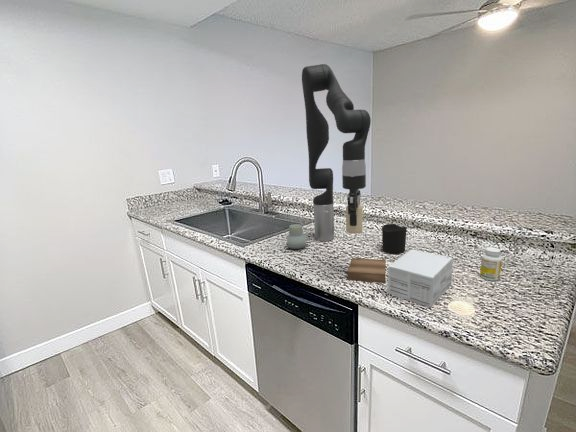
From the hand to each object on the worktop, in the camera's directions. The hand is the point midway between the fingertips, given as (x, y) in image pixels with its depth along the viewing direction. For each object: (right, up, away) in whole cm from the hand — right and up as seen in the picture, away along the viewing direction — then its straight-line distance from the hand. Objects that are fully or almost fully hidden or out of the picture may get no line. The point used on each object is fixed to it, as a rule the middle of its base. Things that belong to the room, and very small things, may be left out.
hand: (354, 223), depth 104 cm
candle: (0, -3, +1) cm, 3 cm away
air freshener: (-19, -12, +32) cm, 39 cm away
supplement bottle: (+42, -18, -6) cm, 46 cm away
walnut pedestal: (+5, -18, +2) cm, 19 cm away
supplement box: (+18, -20, -10) cm, 29 cm away
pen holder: (+21, -12, +22) cm, 32 cm away
